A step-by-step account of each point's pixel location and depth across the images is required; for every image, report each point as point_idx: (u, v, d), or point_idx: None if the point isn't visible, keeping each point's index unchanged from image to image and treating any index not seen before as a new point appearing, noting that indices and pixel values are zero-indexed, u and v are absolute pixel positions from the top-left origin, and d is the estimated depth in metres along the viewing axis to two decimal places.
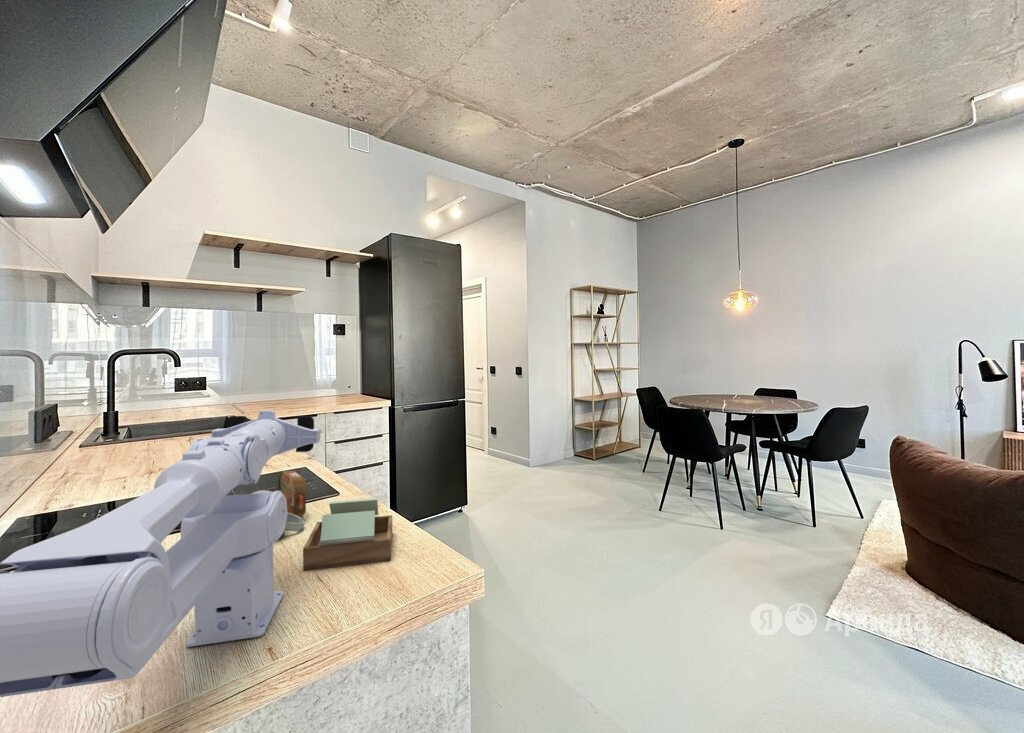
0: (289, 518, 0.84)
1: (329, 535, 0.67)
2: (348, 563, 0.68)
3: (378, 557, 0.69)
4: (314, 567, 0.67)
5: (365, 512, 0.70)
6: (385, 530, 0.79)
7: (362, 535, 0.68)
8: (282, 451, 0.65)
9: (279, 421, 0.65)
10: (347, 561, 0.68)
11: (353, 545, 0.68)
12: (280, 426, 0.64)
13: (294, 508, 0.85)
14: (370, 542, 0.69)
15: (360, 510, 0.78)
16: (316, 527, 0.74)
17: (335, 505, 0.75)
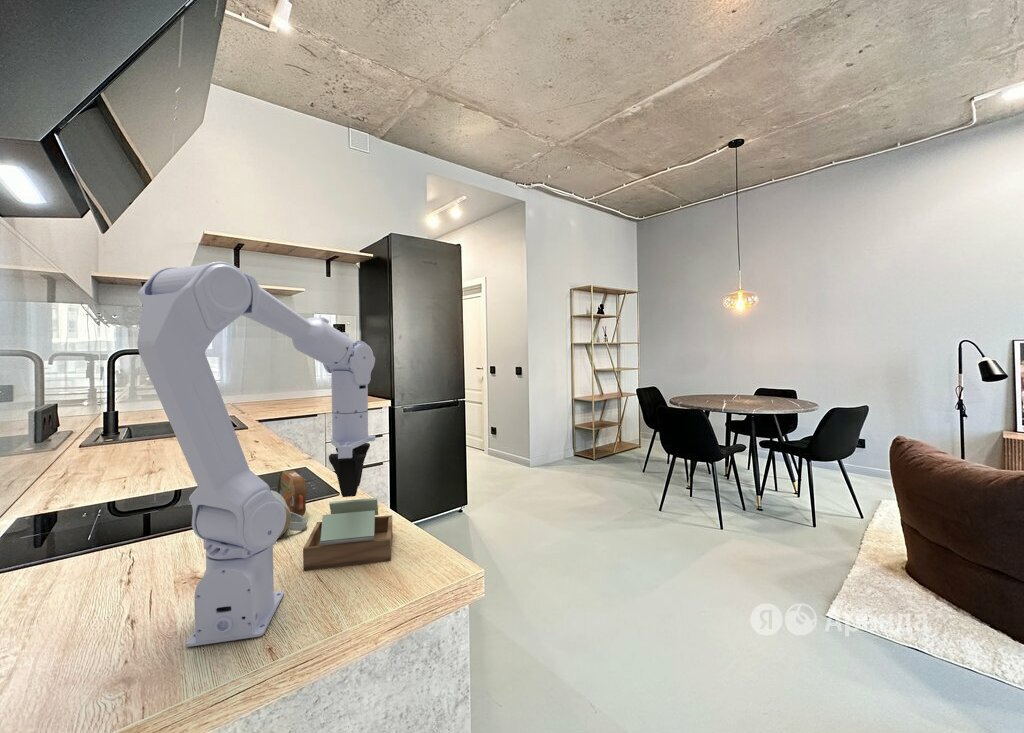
0: (292, 517, 0.84)
1: (329, 535, 0.67)
2: (348, 563, 0.68)
3: (378, 557, 0.69)
4: (314, 567, 0.67)
5: (365, 512, 0.70)
6: (385, 530, 0.79)
7: (362, 535, 0.68)
8: (334, 440, 0.70)
9: (364, 438, 0.71)
10: (347, 561, 0.68)
11: (353, 545, 0.68)
12: (360, 434, 0.71)
13: (294, 508, 0.85)
14: (370, 542, 0.69)
15: (360, 510, 0.78)
16: (316, 527, 0.74)
17: (335, 505, 0.75)
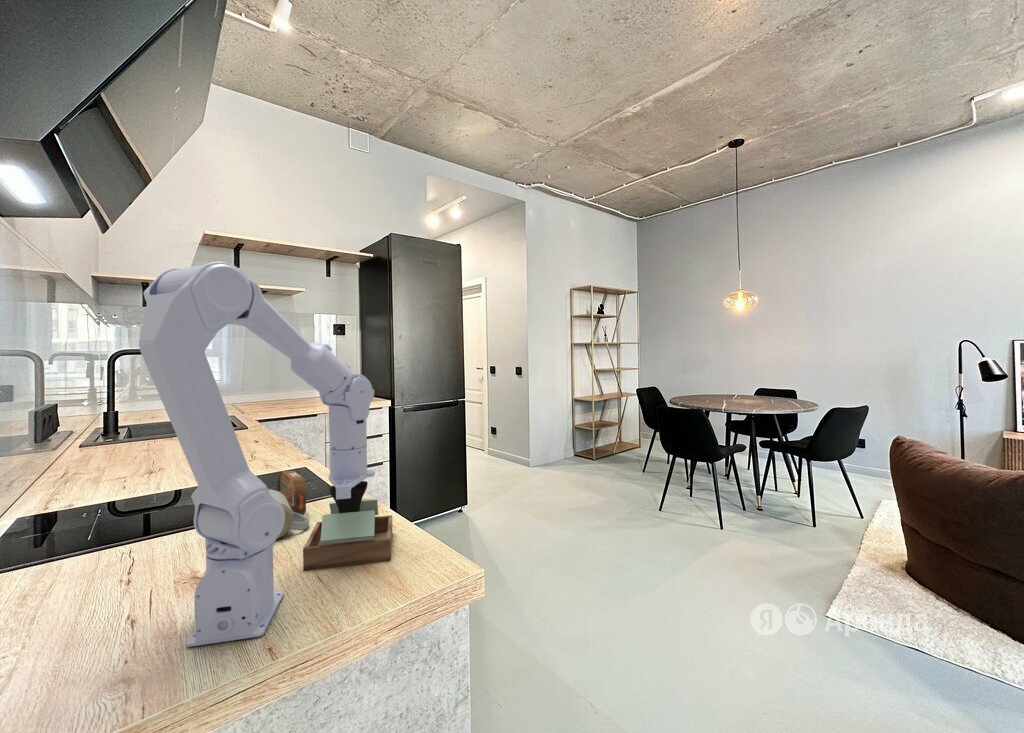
0: (294, 517, 0.84)
1: (329, 535, 0.67)
2: (348, 563, 0.68)
3: (378, 557, 0.69)
4: (314, 567, 0.67)
5: (365, 512, 0.70)
6: (385, 530, 0.79)
7: (362, 535, 0.68)
8: (332, 477, 0.68)
9: (363, 474, 0.69)
10: (347, 561, 0.68)
11: (353, 545, 0.68)
12: (359, 471, 0.69)
13: (294, 508, 0.84)
14: (370, 542, 0.69)
15: (360, 510, 0.78)
16: (316, 527, 0.74)
17: (335, 505, 0.75)
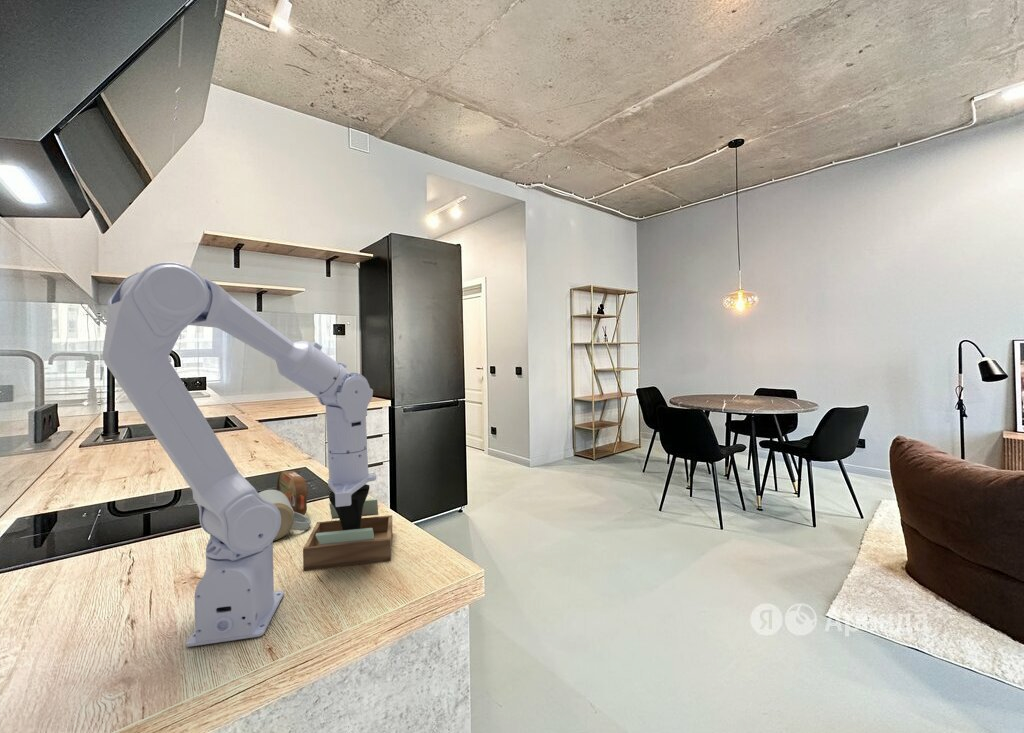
0: (295, 517, 0.84)
1: (328, 541, 0.66)
2: (348, 563, 0.68)
3: (378, 557, 0.69)
4: (314, 567, 0.67)
5: (362, 531, 0.65)
6: (385, 530, 0.79)
7: (362, 539, 0.68)
8: (331, 483, 0.64)
9: (364, 479, 0.65)
10: (347, 561, 0.68)
11: (353, 545, 0.68)
12: (359, 475, 0.65)
13: (295, 508, 0.84)
14: (370, 542, 0.69)
15: None
16: (316, 527, 0.74)
17: None
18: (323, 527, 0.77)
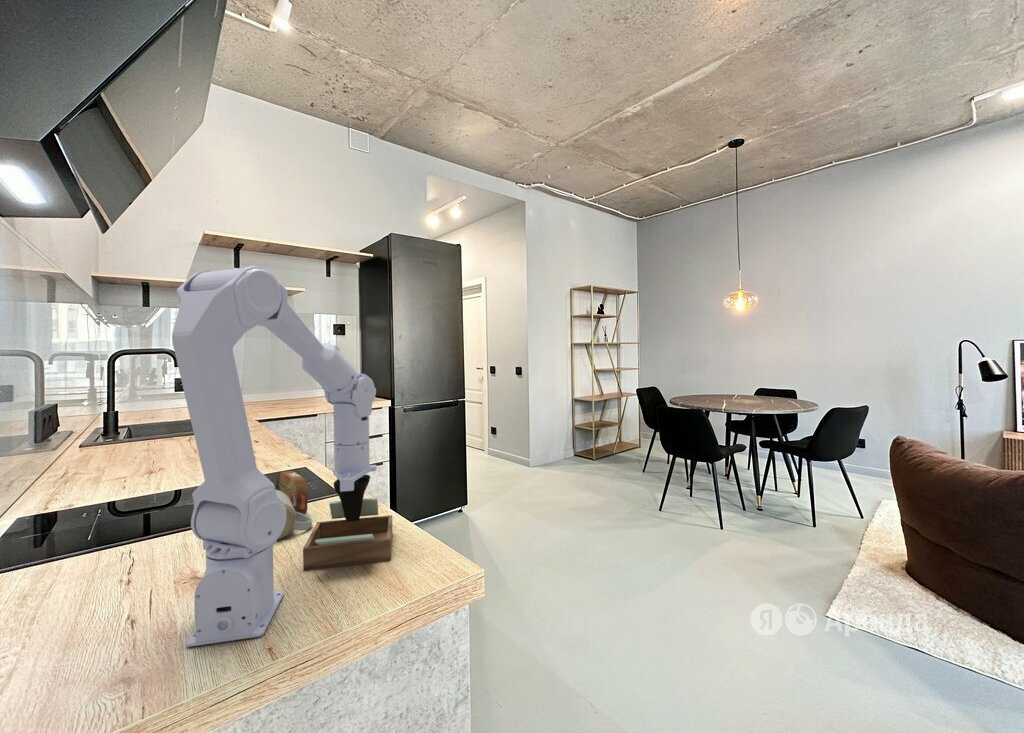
0: (297, 517, 0.84)
1: (328, 543, 0.66)
2: (348, 563, 0.68)
3: (378, 557, 0.69)
4: (314, 567, 0.67)
5: (362, 537, 0.65)
6: (385, 530, 0.79)
7: (362, 540, 0.68)
8: (336, 471, 0.72)
9: (365, 469, 0.73)
10: (347, 561, 0.68)
11: (353, 545, 0.68)
12: (361, 465, 0.73)
13: (296, 508, 0.85)
14: (370, 542, 0.69)
15: None
16: (316, 527, 0.74)
17: (335, 505, 0.75)
18: (323, 527, 0.77)
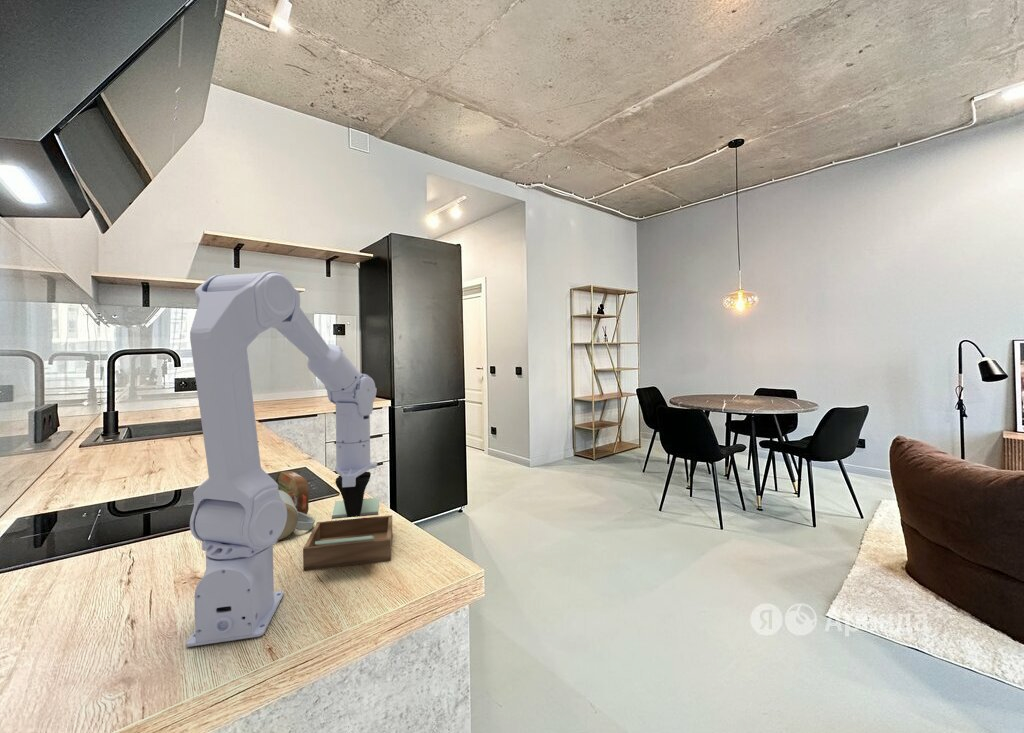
0: (299, 517, 0.84)
1: (328, 543, 0.66)
2: (348, 563, 0.68)
3: (378, 557, 0.69)
4: (314, 567, 0.67)
5: (362, 539, 0.65)
6: (385, 530, 0.79)
7: (362, 540, 0.68)
8: (338, 468, 0.74)
9: (366, 466, 0.76)
10: (347, 561, 0.68)
11: (353, 545, 0.68)
12: (363, 462, 0.75)
13: (297, 508, 0.85)
14: (370, 542, 0.69)
15: None
16: (316, 527, 0.74)
17: (340, 503, 0.81)
18: (323, 527, 0.77)
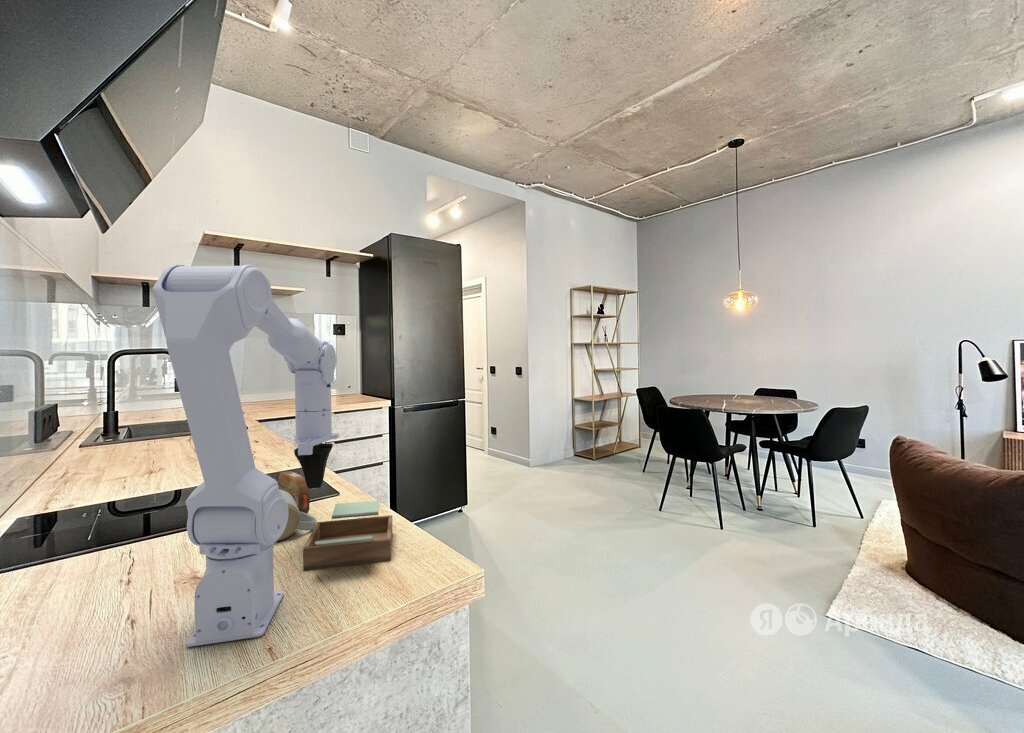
0: (301, 517, 0.84)
1: (328, 543, 0.66)
2: (348, 563, 0.68)
3: (378, 557, 0.69)
4: (314, 567, 0.67)
5: (362, 539, 0.65)
6: (385, 530, 0.79)
7: (362, 540, 0.68)
8: (297, 438, 0.72)
9: (326, 436, 0.74)
10: (347, 561, 0.68)
11: (353, 545, 0.68)
12: (322, 432, 0.73)
13: (298, 508, 0.85)
14: (370, 542, 0.69)
15: (361, 509, 0.80)
16: (316, 527, 0.74)
17: (340, 505, 0.81)
18: (323, 527, 0.77)
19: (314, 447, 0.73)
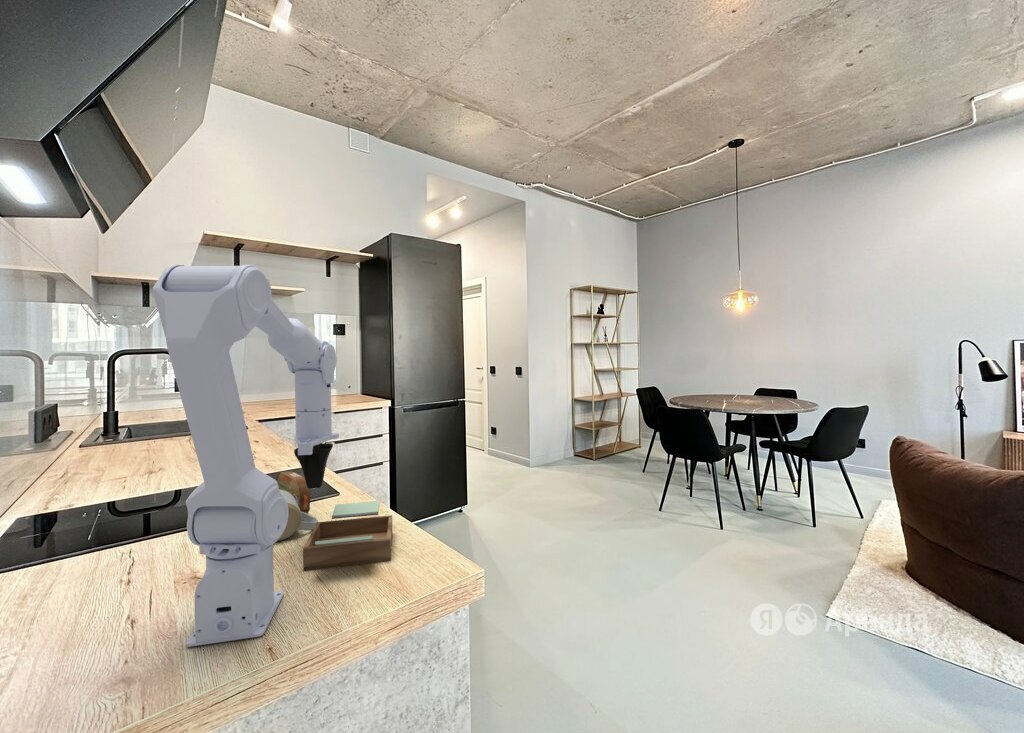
0: (302, 517, 0.84)
1: (328, 543, 0.66)
2: (348, 563, 0.68)
3: (378, 557, 0.69)
4: (314, 567, 0.67)
5: (362, 539, 0.65)
6: (385, 530, 0.79)
7: (362, 540, 0.68)
8: (297, 438, 0.72)
9: (326, 436, 0.74)
10: (347, 561, 0.68)
11: (353, 545, 0.68)
12: (322, 432, 0.73)
13: None
14: (370, 542, 0.69)
15: (361, 509, 0.80)
16: (316, 527, 0.74)
17: (340, 506, 0.81)
18: (323, 527, 0.77)
19: (314, 447, 0.73)
